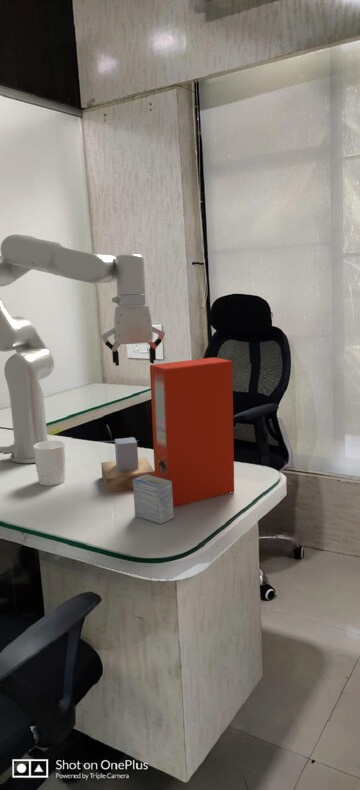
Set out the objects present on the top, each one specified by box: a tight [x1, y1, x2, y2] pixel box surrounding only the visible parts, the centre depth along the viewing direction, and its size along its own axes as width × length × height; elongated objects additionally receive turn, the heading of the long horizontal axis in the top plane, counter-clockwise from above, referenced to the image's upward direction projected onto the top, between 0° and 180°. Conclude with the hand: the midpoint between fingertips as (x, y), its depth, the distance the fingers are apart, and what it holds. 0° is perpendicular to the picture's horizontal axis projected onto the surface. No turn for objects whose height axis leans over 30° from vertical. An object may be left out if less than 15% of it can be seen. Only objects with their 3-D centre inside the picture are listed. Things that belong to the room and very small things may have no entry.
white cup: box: [33, 440, 66, 487], centre depth 159 cm, size 8×8×10 cm
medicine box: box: [132, 475, 175, 525], centre depth 133 cm, size 8×4×9 cm, turn 48°
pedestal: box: [100, 457, 155, 493], centre depth 157 cm, size 12×12×4 cm
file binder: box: [149, 357, 235, 508], centre depth 143 cm, size 8×17×32 cm, turn 119°
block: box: [114, 436, 139, 471], centre depth 155 cm, size 5×5×7 cm
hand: (134, 364), depth 167 cm, fingers open, 9 cm apart
